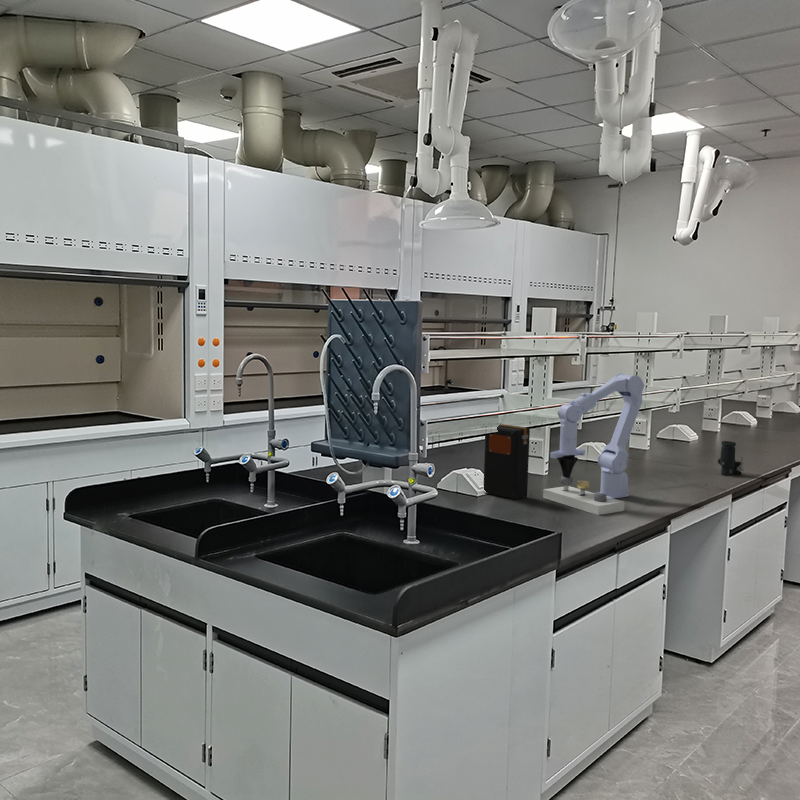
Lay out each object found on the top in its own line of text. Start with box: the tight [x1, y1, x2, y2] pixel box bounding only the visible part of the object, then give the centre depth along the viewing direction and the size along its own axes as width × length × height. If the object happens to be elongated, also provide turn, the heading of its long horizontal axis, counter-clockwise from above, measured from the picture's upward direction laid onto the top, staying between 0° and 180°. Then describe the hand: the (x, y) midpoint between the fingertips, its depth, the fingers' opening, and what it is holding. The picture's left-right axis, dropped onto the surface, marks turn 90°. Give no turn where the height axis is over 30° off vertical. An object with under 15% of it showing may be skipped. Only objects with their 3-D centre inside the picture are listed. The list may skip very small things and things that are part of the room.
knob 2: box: [594, 492, 607, 502], centre depth 245 cm, size 4×4×5 cm
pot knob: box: [576, 480, 590, 496], centre depth 251 cm, size 4×4×5 cm
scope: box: [717, 440, 745, 477], centre depth 306 cm, size 8×14×10 cm
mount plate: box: [542, 485, 625, 516], centre depth 251 cm, size 12×26×3 cm, turn 31°
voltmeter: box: [483, 423, 531, 500], centre depth 261 cm, size 16×9×25 cm, turn 45°
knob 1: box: [560, 475, 573, 491], centre depth 258 cm, size 4×4×5 cm
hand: (566, 476), depth 258 cm, fingers closed
